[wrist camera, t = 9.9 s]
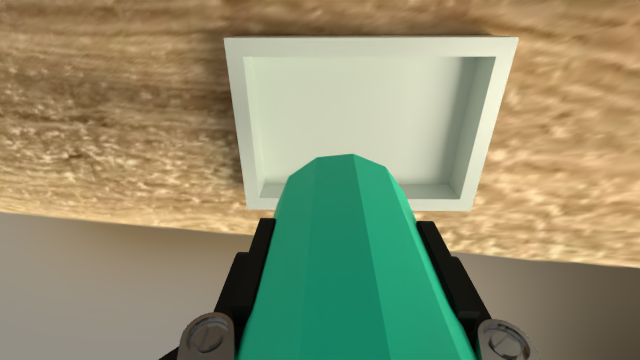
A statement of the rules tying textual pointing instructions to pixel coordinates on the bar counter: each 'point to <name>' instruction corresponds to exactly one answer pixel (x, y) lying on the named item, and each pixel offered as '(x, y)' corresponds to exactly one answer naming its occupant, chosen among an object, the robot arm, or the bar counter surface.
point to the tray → (369, 109)
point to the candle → (349, 274)
